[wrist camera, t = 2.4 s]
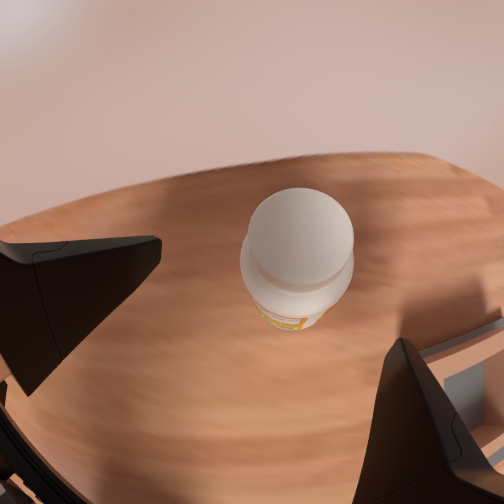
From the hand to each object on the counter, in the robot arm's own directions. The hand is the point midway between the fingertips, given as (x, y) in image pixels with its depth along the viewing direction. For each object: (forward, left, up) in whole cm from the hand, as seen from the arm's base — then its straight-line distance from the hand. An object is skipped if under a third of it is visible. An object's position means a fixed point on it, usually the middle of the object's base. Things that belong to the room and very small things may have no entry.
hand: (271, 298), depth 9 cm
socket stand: (-11, -14, -10) cm, 20 cm away
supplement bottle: (+2, -1, -10) cm, 11 cm away
